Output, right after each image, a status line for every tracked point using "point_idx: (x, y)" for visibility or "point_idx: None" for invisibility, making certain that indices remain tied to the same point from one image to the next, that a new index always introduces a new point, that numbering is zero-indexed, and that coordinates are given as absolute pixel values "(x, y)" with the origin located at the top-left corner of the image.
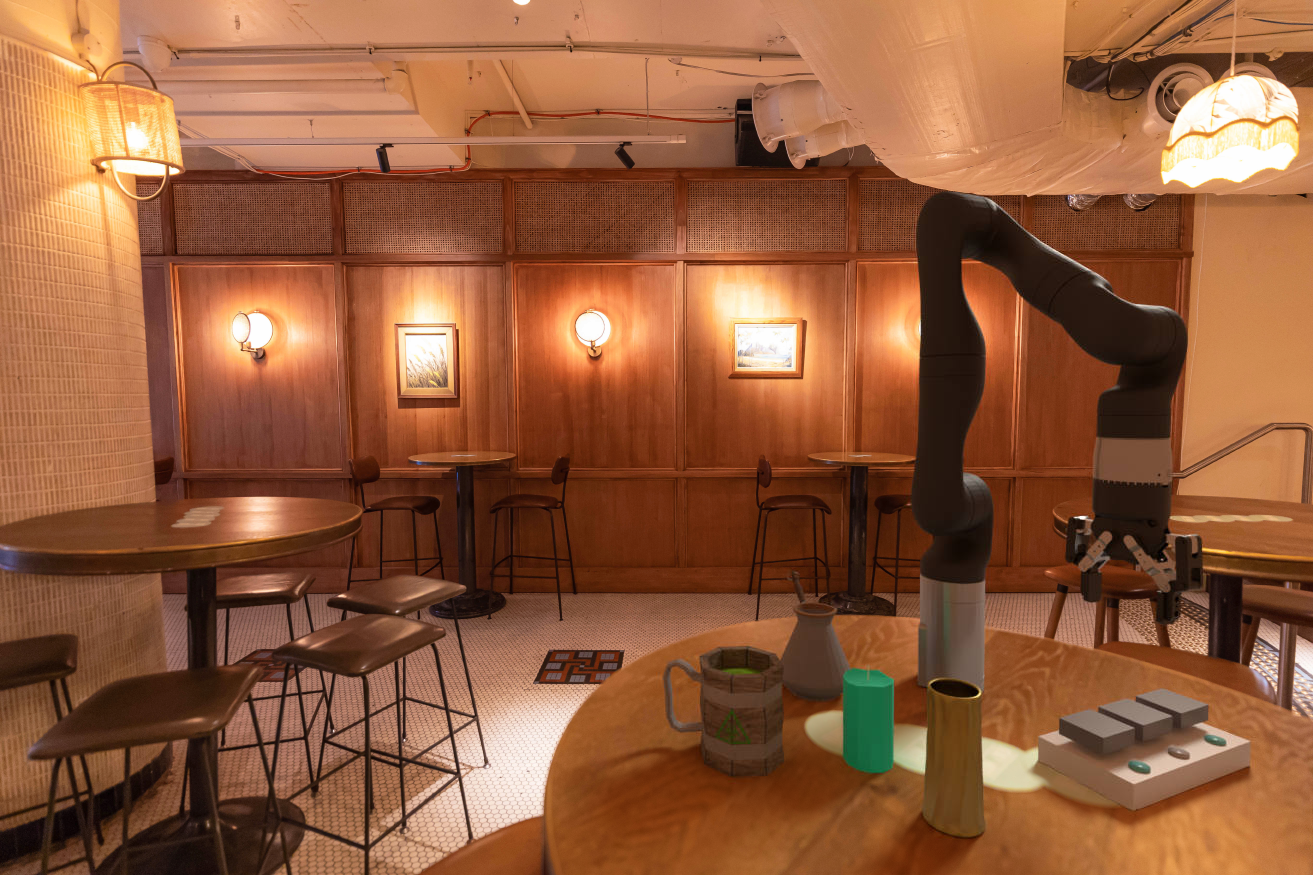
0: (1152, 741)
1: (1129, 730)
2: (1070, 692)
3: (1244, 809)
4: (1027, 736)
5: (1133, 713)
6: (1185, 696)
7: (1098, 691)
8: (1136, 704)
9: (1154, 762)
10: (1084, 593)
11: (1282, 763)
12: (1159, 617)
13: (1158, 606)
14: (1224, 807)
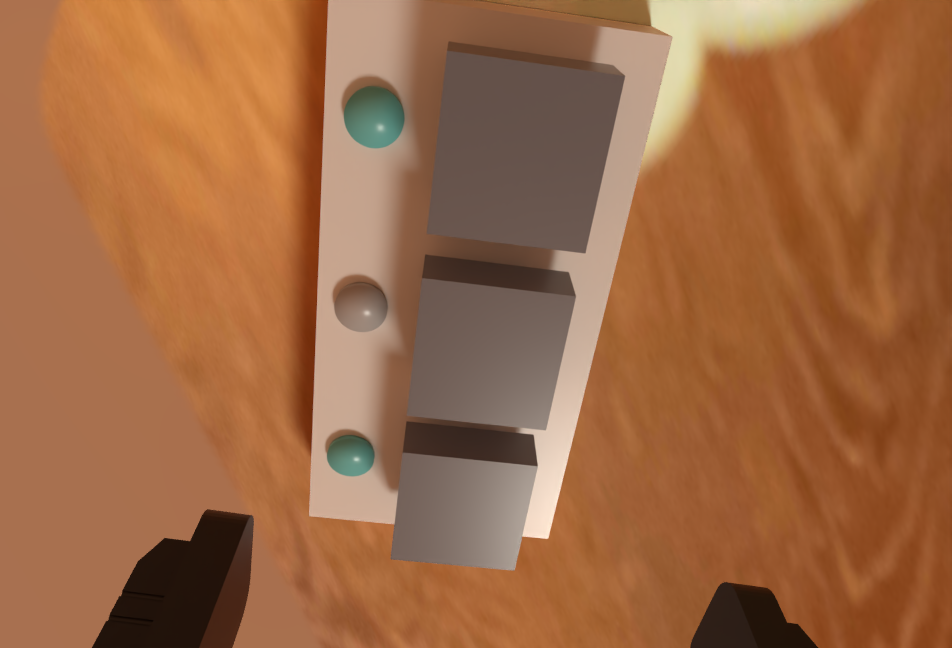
0: None
1: (430, 204)
2: (754, 511)
3: (221, 259)
4: (738, 152)
5: (481, 337)
6: (451, 564)
7: (703, 567)
8: (508, 410)
9: (370, 195)
10: (780, 625)
11: (293, 532)
12: (216, 535)
13: (200, 604)
14: (246, 228)
